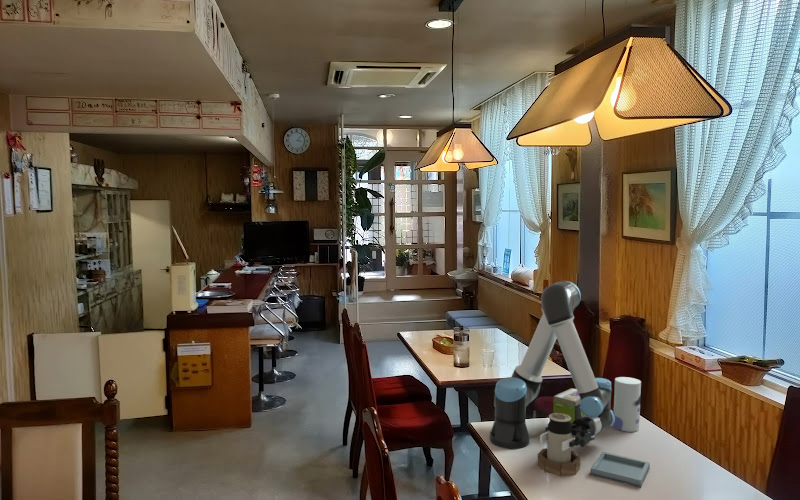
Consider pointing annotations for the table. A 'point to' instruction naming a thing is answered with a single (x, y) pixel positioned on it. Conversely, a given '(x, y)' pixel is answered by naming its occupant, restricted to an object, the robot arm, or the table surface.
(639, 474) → the tray
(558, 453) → the travel mug
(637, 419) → the container
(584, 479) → the table surface
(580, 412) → the tea box
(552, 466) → the mug holder
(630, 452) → the table surface
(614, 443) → the table surface
